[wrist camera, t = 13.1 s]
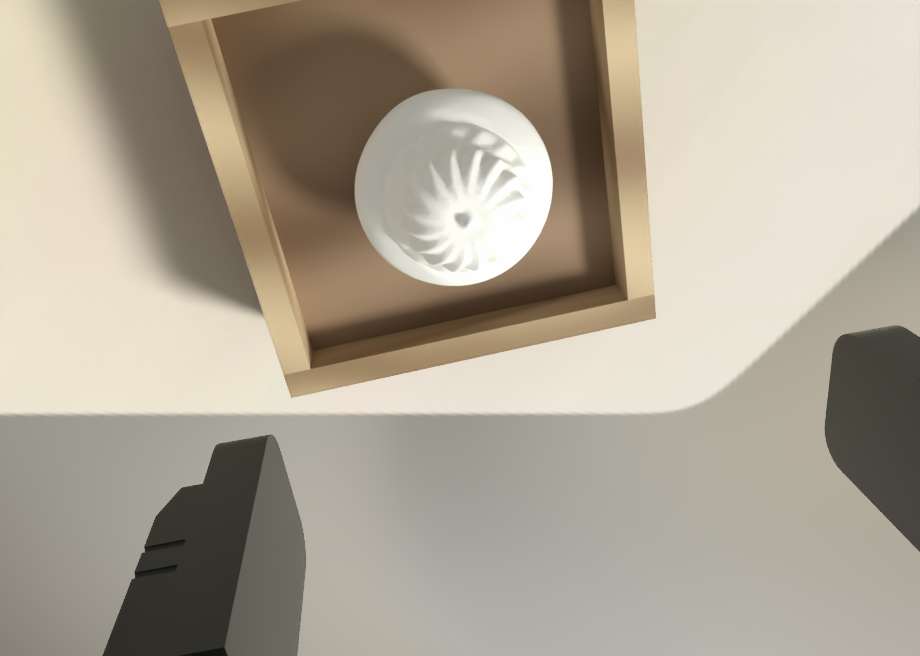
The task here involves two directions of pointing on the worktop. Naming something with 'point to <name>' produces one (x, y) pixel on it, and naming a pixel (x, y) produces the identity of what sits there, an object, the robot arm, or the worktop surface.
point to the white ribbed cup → (453, 186)
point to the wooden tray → (345, 135)
